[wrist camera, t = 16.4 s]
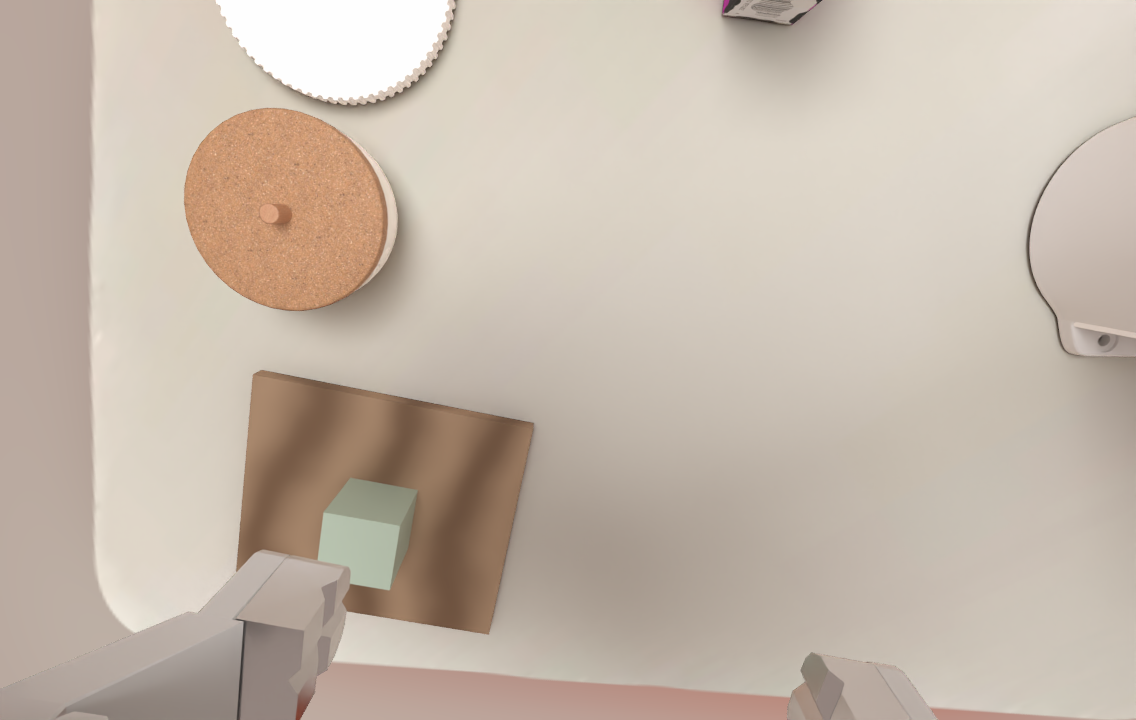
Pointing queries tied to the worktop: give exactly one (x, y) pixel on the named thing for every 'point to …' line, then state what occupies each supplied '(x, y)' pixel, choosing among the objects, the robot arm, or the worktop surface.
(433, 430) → the cutting board
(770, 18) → the candy bar box
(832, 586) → the worktop surface
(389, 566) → the sage cube
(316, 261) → the lidded jar
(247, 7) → the white gear
